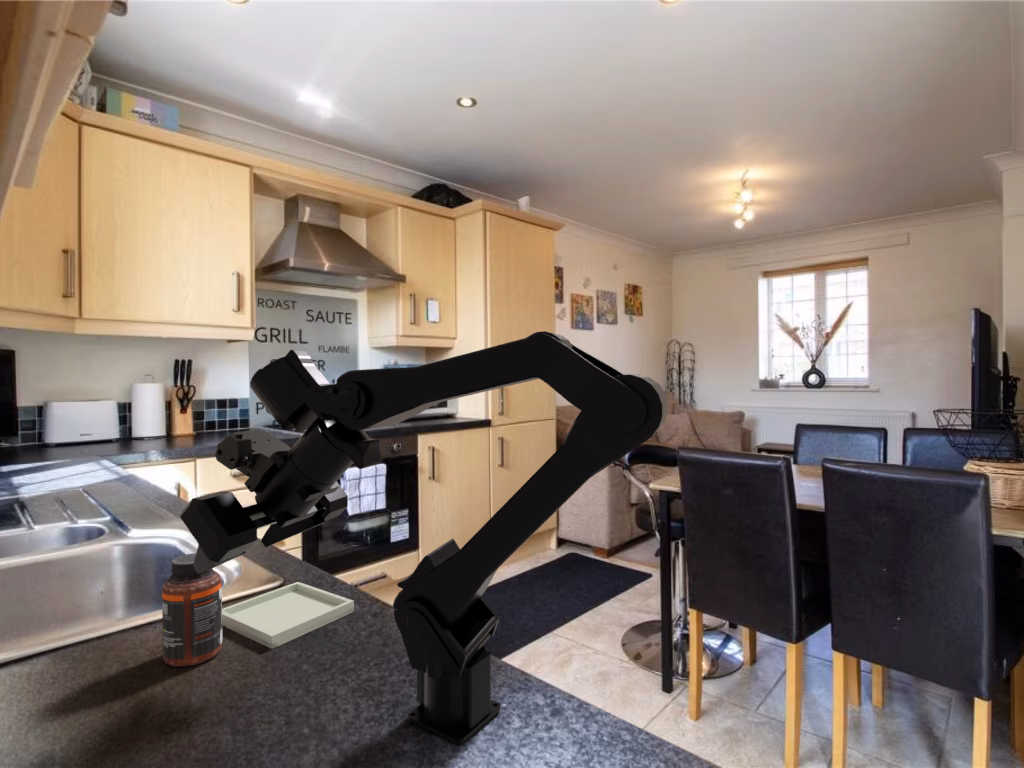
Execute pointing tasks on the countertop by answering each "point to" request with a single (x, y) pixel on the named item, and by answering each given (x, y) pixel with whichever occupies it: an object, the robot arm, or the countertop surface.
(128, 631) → the countertop surface
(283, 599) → the tray
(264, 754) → the countertop surface
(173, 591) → the supplement bottle
